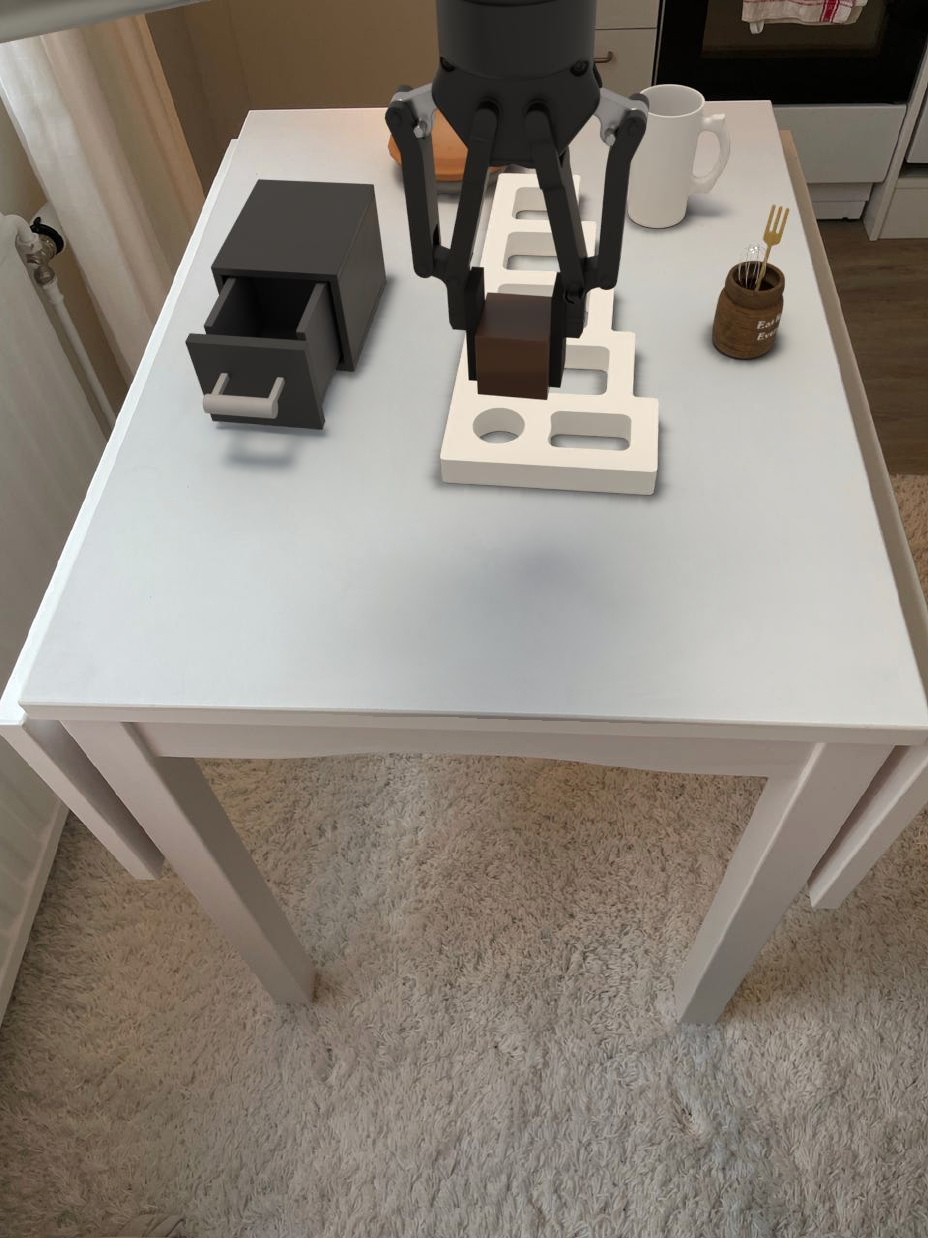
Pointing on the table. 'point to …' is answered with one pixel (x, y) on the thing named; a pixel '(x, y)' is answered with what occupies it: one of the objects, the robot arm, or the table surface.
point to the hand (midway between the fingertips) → (517, 369)
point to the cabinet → (313, 248)
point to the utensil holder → (751, 301)
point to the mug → (672, 156)
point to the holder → (560, 413)
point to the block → (514, 346)
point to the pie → (447, 157)
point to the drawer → (268, 352)
